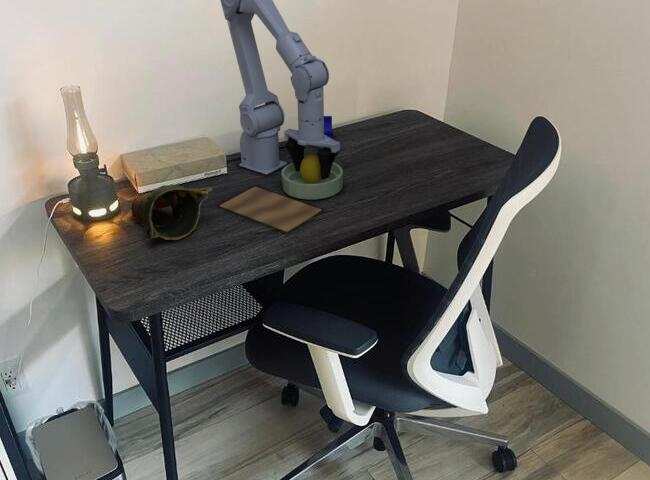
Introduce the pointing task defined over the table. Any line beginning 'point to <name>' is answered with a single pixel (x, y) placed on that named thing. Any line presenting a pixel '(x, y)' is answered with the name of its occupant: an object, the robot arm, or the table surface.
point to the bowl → (302, 190)
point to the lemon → (310, 169)
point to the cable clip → (328, 127)
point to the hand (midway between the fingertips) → (312, 174)
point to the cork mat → (271, 209)
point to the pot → (177, 200)
